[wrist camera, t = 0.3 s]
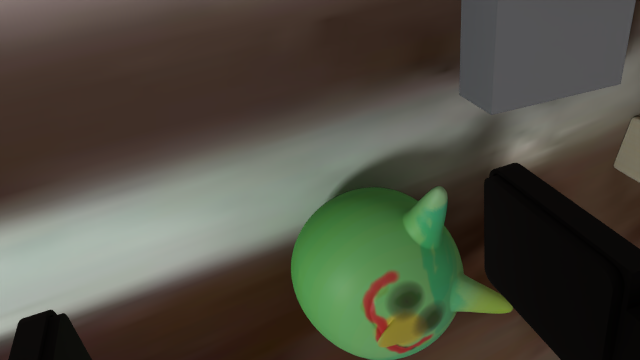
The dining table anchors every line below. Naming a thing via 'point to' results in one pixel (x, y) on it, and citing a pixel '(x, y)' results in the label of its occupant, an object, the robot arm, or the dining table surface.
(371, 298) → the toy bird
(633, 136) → the beige tall block
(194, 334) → the dining table surface
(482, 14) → the grey block
